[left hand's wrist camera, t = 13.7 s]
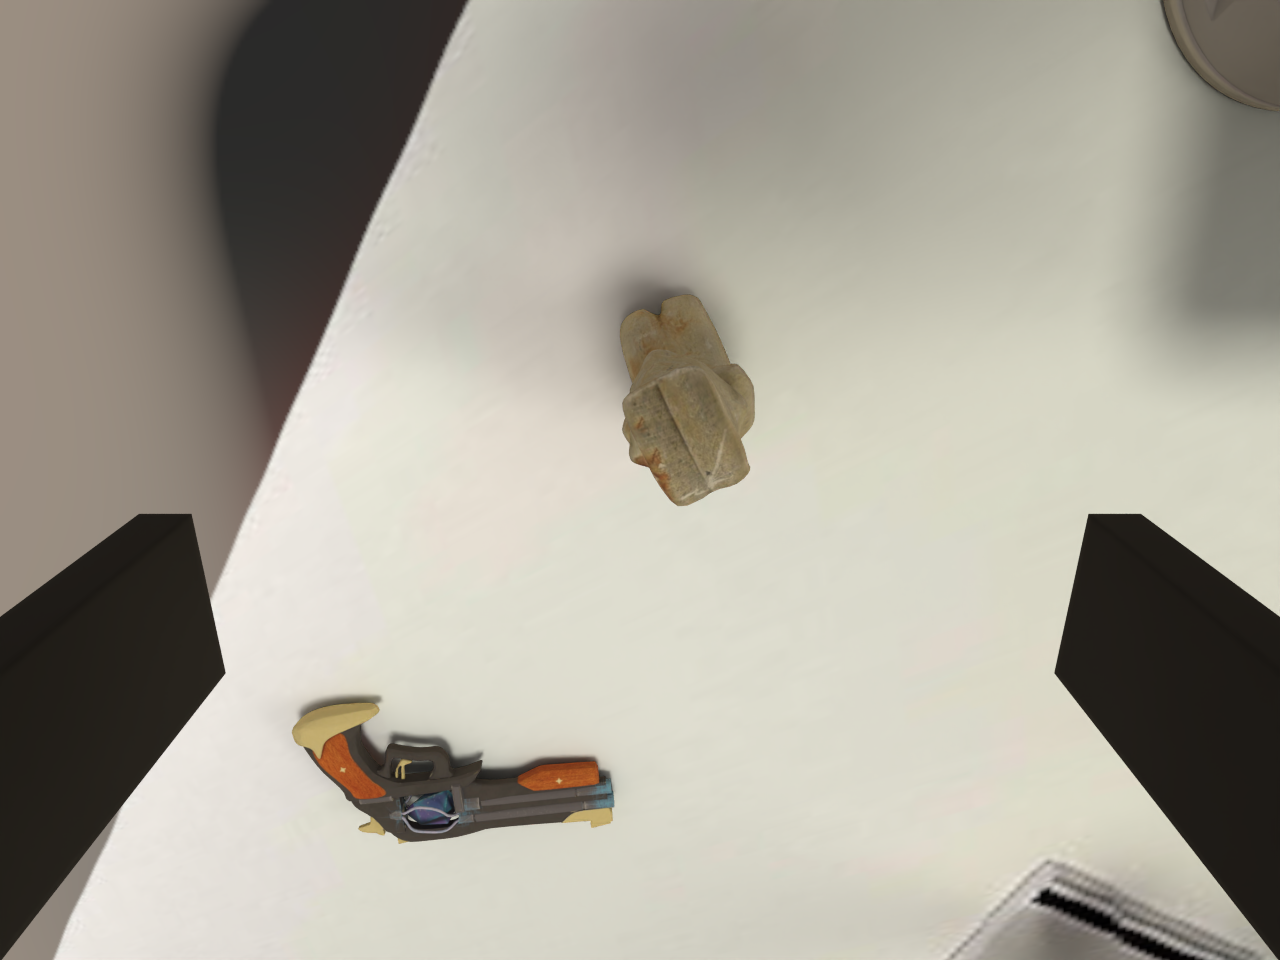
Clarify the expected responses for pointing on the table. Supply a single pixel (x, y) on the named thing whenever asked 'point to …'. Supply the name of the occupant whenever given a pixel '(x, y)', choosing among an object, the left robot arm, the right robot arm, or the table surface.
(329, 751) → the toy gun
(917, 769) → the table surface
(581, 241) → the table surface
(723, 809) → the table surface
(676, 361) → the sculpture
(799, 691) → the table surface
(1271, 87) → the left robot arm
